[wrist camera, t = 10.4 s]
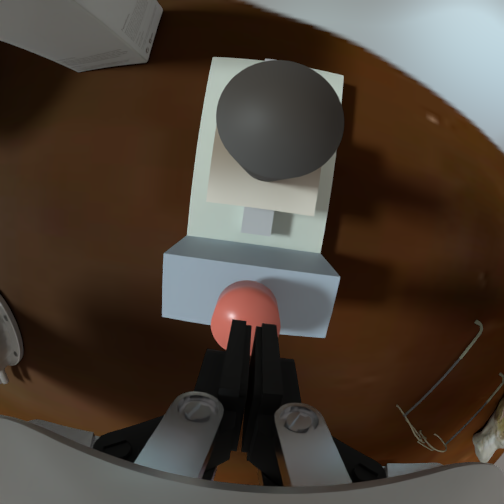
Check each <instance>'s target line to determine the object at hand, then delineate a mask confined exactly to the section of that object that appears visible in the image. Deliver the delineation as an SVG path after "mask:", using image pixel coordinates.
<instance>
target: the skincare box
mask: <svg viewBox="0 0 504 504" xmlns="http://www.w3.org/2000/svg"><path fill="white" fill-rule="evenodd" d="M162 12H163V9H162V7H161V6H160V4H159V3H158V2H157V0H0V41H3V42H6V43H9V44H12V45H14V46H17V47H20V48H22V49H25V50H28V51H30V52H33V53H35V54H38V55H40V56H43V57H45V58H48V59H50V60H52V61H55V62H57V63H59V64H61V65H64V66H66V67H68V68H70V69H72V70H75V71H77V72H83V71H88V70H94V69H100V68H106V67H113V66H121V65H129V64H138V63H146V62H147V61H148V59H149V55H150V51H151V48H152V44H153V41H154V37H155V34H156V31H157V27H158V24H159V21H160V18H161V15H162Z"/></svg>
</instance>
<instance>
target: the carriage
mask: <svg viewBox="0 0 504 504" xmlns="http://www.w3.org/2000/svg"><path fill="white" fill-rule="evenodd" d="M343 131H344V113H343V108H342V105H341V102H340V100H339V97H338V95H337V94H336V92H335V90H334V89H333V87H332V86H331V85H330V84H329V83H328V81H327V80H326V79H325V78H323V77H322V76H321V75H320V74H319V73H317V72H316V71H314V70H312V69H311V68H309V67H307V66H304V65H302V64H299V63H296V62H291V61H284V60H271V61H264V62H260V63H256V64H254V65H251V66H249V67H247V68H245V69H244V70H242V71H240V72H239V73H238V74H236V75H235V76H234V77H233V78H232V79H231V80H230V81H229V83H228V84H227V85H226V86H225V88H224V90H223V92H222V93H221V96H220V98H219V101H218V105H217V111H216V131H215V137H214V144H213V151H212V159H211V166H210V174H209V182H208V190H207V198H206V202H212V203H220V204H229V205H236V206H244V207H252V208H259V209H266V210H273V211H280V212H287V213H294V214H300V215H307V216H313V217H314V213H315V207H316V201H317V194H318V187H319V180H320V173H321V166H323V165H324V164H325V163H326V162H327V161H328V160H329V159H330V158H331V157H332V156H333V154H334V153H335V152H336V150H337V148H338V146H339V144H340V142H341V139H342V136H343Z"/></svg>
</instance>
